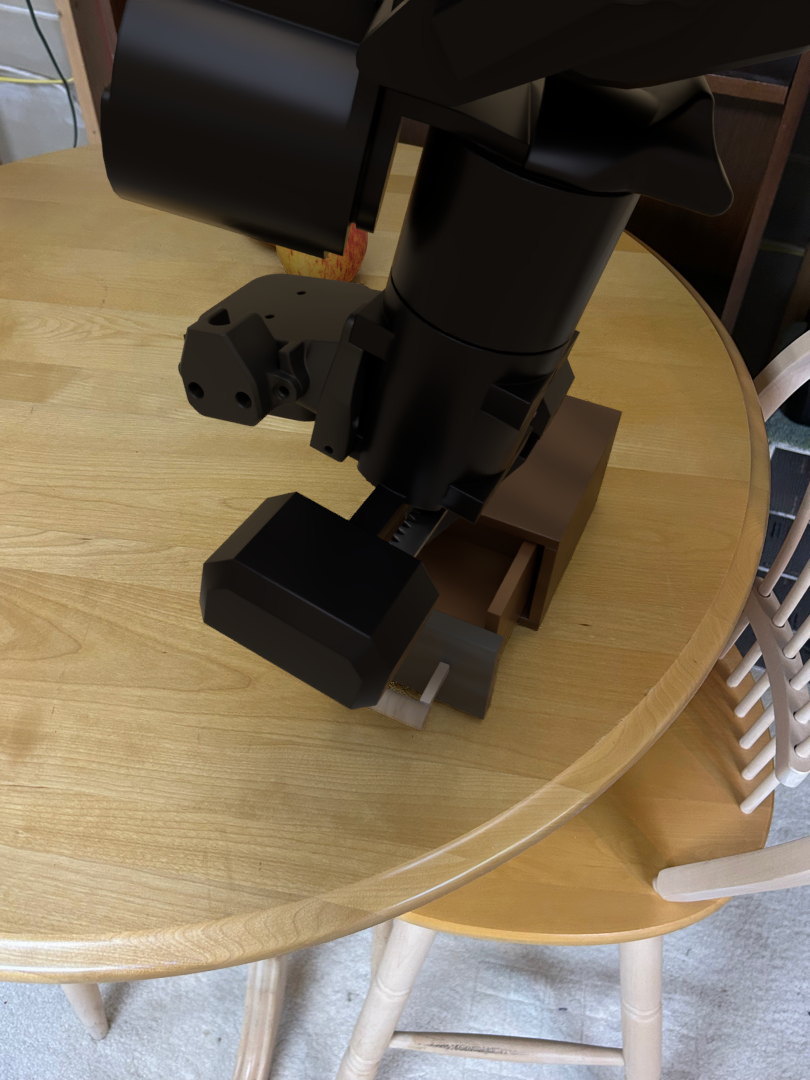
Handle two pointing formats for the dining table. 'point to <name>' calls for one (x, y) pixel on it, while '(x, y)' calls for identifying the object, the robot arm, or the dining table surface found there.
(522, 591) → the drawer
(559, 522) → the cabinet
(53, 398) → the dining table surface
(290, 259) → the apple
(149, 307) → the dining table surface
